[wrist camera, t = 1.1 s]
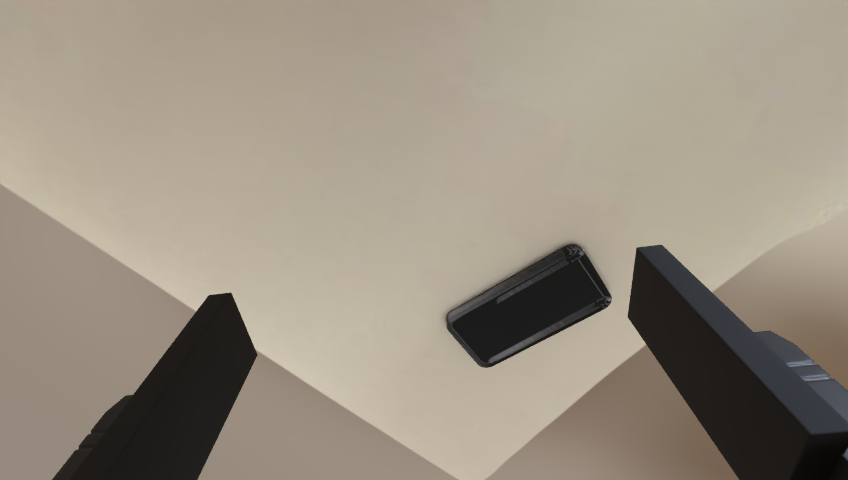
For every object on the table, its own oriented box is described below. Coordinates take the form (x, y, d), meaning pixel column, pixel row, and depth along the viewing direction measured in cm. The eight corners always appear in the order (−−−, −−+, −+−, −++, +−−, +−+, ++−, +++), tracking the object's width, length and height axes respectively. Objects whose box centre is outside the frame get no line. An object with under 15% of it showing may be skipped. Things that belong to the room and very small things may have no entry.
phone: (615, 303, 41) (483, 371, 44) (610, 296, 42) (482, 363, 45) (580, 244, 37) (441, 323, 41) (576, 239, 38) (441, 316, 42)
